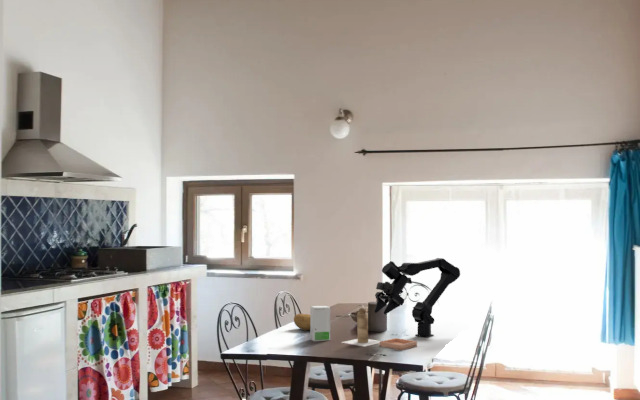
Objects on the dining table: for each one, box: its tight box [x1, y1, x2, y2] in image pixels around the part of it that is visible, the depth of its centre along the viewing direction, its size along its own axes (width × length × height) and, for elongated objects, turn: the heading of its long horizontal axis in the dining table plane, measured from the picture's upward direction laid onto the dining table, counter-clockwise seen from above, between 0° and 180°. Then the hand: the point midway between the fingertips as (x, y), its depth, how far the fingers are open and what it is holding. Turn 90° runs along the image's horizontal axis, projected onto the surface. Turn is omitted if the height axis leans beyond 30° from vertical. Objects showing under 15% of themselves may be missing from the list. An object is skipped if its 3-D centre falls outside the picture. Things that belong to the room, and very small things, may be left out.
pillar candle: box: [367, 301, 388, 333], centre depth 325 cm, size 10×10×15 cm
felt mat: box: [341, 338, 382, 348], centre depth 292 cm, size 14×14×1 cm
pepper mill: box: [356, 307, 369, 343], centre depth 292 cm, size 5×5×15 cm
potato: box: [293, 313, 311, 331], centre depth 327 cm, size 10×14×8 cm
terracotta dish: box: [379, 337, 418, 351], centre depth 283 cm, size 12×12×2 cm
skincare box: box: [309, 305, 331, 342], centre depth 300 cm, size 8×7×16 cm
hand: (379, 313), depth 297 cm, fingers open, 9 cm apart
